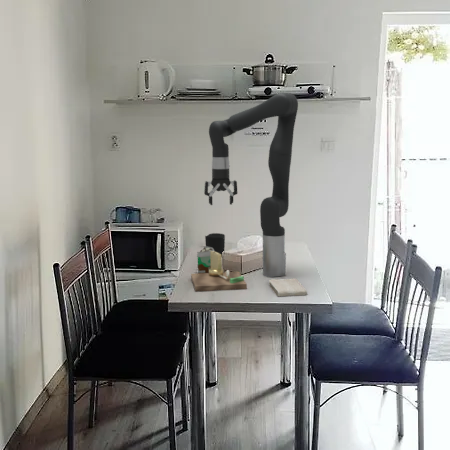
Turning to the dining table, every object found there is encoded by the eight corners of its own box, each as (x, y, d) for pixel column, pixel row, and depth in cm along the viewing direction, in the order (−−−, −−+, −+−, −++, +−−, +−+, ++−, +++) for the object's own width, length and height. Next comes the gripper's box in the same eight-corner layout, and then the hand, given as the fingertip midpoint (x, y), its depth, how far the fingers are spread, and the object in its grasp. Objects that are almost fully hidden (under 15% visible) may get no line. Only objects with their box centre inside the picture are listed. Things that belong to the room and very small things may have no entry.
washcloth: (295, 283, 247) (295, 276, 246) (308, 296, 229) (308, 288, 229) (266, 285, 245) (266, 277, 244) (277, 298, 227) (277, 290, 227)
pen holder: (202, 254, 297) (202, 234, 295) (220, 252, 301) (219, 232, 299) (210, 258, 288) (209, 237, 286) (228, 256, 292) (228, 236, 290)
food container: (211, 275, 258) (211, 252, 256) (197, 275, 259) (197, 252, 257) (217, 268, 270) (217, 246, 268) (204, 268, 271) (203, 246, 269)
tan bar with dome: (205, 273, 253) (205, 251, 252) (218, 271, 256) (218, 250, 254) (221, 281, 240) (221, 259, 239) (235, 279, 243) (235, 257, 241)
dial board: (238, 276, 257) (238, 267, 256) (246, 288, 238) (246, 280, 237) (191, 278, 254) (191, 270, 253) (195, 291, 235) (195, 282, 235)
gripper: (235, 166, 269) (235, 203, 272) (203, 167, 267) (203, 203, 270) (238, 167, 261) (238, 205, 264) (205, 168, 259) (205, 206, 262)
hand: (221, 204), depth 267 cm, fingers open, 8 cm apart
